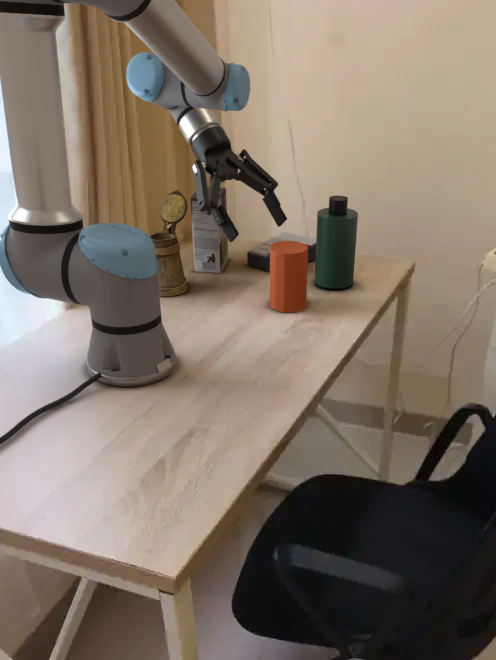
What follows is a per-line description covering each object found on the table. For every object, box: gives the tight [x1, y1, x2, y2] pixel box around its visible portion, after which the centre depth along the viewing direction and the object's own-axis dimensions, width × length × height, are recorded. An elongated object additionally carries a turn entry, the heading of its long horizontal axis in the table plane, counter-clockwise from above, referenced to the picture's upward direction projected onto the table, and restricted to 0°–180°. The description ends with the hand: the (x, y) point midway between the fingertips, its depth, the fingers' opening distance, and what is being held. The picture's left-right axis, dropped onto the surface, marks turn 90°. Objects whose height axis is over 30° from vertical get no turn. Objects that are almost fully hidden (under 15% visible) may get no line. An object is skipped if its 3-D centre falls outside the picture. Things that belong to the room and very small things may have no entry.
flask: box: [313, 194, 359, 292], centre depth 158 cm, size 9×9×18 cm
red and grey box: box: [246, 231, 316, 272], centre depth 173 cm, size 11×4×15 cm
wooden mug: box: [147, 189, 189, 297], centre depth 156 cm, size 9×14×18 cm, turn 163°
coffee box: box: [189, 186, 230, 274], centre depth 166 cm, size 9×6×16 cm
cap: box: [269, 241, 309, 314], centre depth 150 cm, size 7×7×12 cm
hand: (259, 230), depth 150 cm, fingers open, 13 cm apart
